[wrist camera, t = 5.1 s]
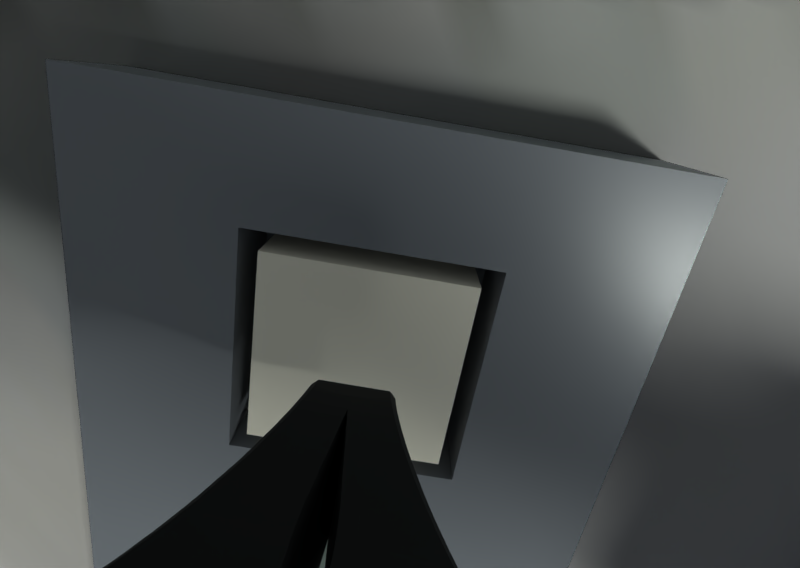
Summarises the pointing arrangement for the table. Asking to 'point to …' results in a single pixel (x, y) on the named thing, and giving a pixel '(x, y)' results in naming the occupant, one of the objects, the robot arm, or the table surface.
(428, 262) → the sand key
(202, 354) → the keypad
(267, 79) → the table surface
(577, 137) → the table surface
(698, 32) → the table surface
